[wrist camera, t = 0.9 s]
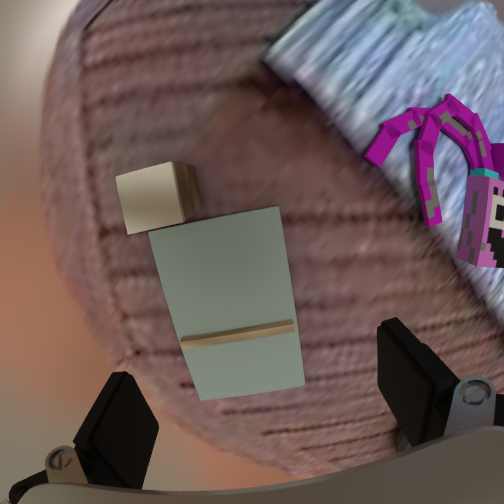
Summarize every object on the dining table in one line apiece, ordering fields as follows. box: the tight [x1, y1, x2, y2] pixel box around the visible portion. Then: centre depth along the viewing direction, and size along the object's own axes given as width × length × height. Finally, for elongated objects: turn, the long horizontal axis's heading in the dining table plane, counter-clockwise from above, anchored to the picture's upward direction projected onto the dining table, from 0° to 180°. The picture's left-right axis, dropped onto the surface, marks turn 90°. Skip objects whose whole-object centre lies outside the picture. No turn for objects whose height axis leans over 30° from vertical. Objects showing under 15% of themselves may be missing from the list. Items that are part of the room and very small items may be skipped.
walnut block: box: [115, 162, 202, 234], centre depth 26 cm, size 4×4×10 cm
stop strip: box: [180, 319, 295, 349], centre depth 34 cm, size 1×13×1 cm, turn 100°
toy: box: [363, 93, 504, 268], centre depth 29 cm, size 27×5×20 cm
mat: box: [148, 206, 305, 400], centre depth 34 cm, size 23×14×1 cm, turn 11°
